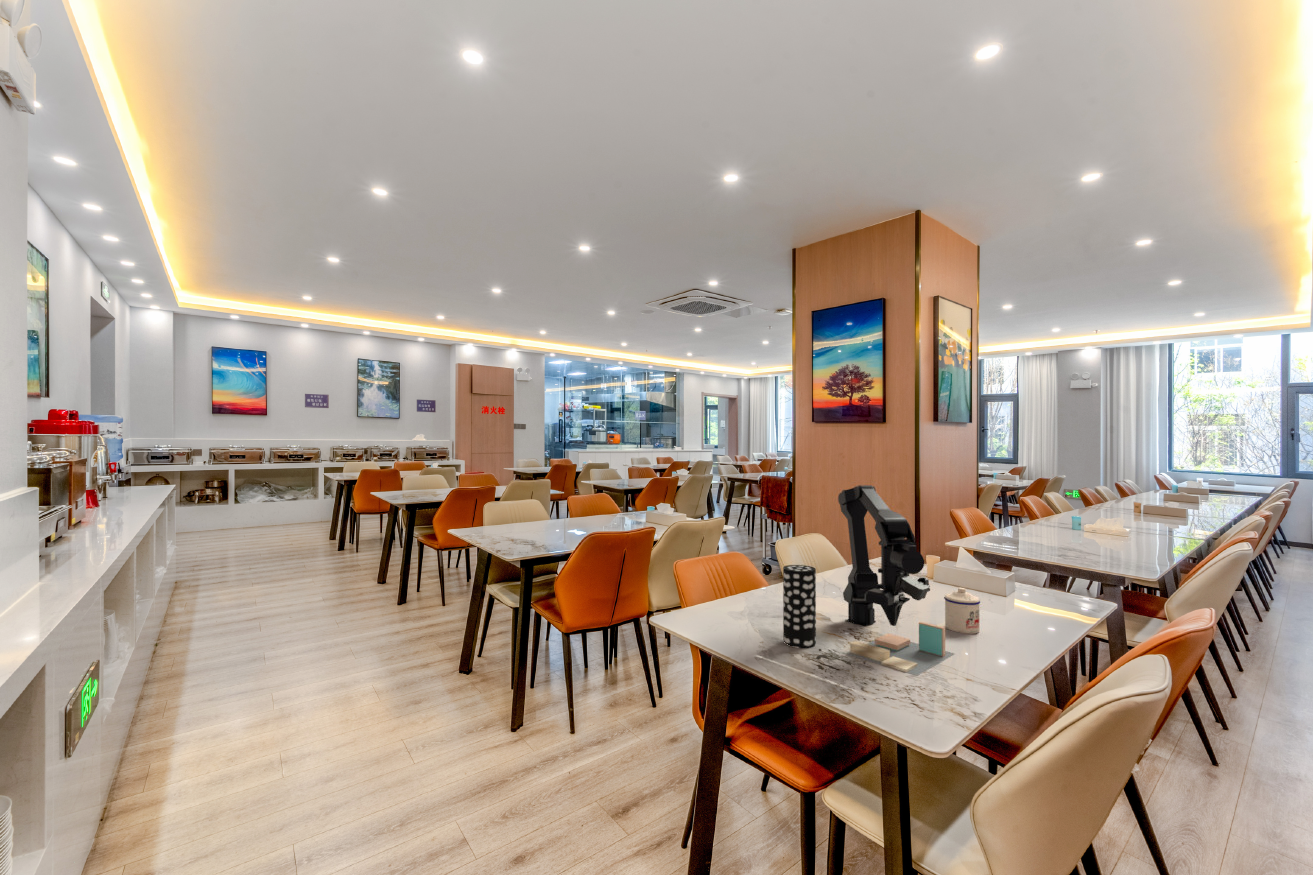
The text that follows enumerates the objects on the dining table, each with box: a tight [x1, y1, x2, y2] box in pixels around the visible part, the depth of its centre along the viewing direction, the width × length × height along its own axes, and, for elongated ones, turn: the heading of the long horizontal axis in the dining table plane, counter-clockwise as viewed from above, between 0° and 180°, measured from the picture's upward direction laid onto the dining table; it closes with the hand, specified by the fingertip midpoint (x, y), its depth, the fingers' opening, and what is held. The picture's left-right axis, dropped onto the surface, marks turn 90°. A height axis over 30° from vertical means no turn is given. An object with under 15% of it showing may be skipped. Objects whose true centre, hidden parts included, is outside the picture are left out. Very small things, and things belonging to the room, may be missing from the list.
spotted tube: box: [782, 564, 817, 649], centre depth 150 cm, size 8×8×20 cm
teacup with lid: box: [943, 587, 981, 635], centre depth 163 cm, size 12×9×12 cm
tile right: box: [918, 621, 946, 657], centre depth 142 cm, size 6×2×7 cm, turn 41°
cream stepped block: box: [849, 640, 917, 673], centre depth 137 cm, size 15×6×2 cm, turn 41°
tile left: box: [874, 633, 911, 651], centre depth 147 cm, size 6×2×7 cm
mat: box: [844, 639, 956, 677], centre depth 142 cm, size 18×21×1 cm
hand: (893, 625), depth 148 cm, fingers closed
